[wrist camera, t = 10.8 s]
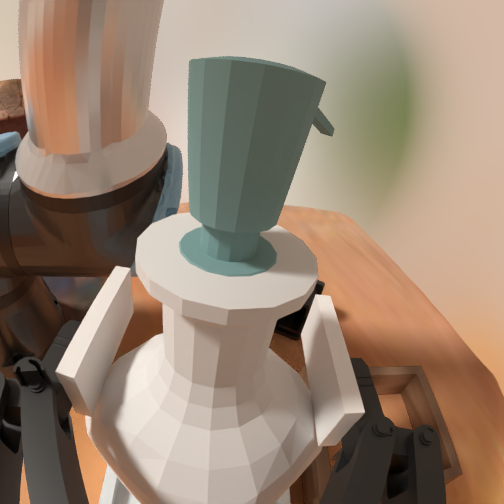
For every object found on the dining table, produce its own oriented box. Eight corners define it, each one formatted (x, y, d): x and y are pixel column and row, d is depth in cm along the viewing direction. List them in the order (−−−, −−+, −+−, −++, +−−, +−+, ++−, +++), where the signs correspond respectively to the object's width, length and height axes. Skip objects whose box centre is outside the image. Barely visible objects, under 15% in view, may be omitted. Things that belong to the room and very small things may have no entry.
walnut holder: (304, 516, 18) (321, 508, 16) (292, 386, 31) (302, 364, 30) (439, 488, 20) (462, 473, 18) (405, 385, 33) (420, 365, 31)
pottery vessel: (-29, 250, 38) (-48, 90, 23) (-38, 209, 49) (-47, 93, 34) (75, 211, 58) (77, 70, 43) (41, 183, 68) (42, 76, 54)
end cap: (314, 312, 44) (328, 274, 40) (301, 343, 38) (316, 303, 34) (252, 288, 46) (260, 250, 43) (231, 314, 40) (238, 273, 37)
